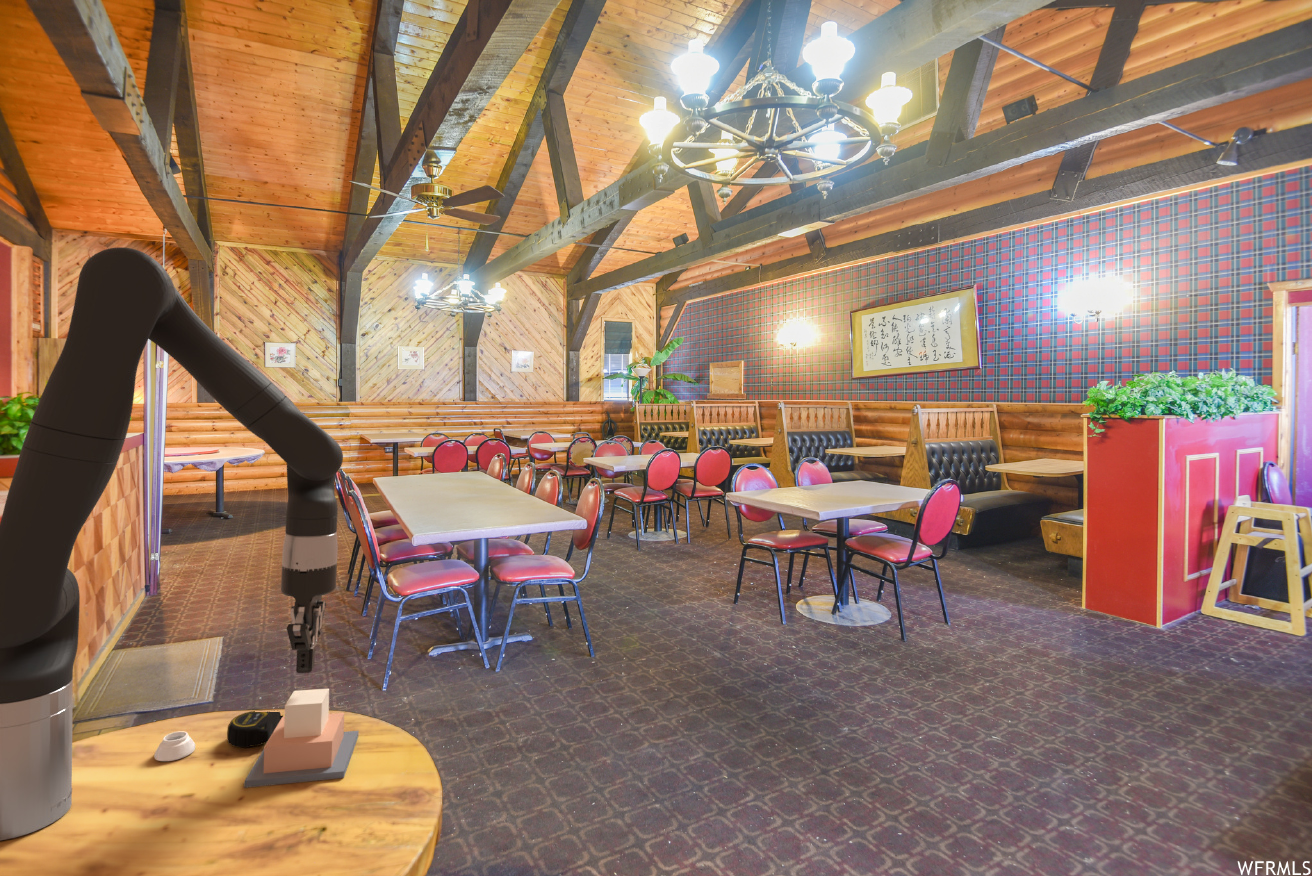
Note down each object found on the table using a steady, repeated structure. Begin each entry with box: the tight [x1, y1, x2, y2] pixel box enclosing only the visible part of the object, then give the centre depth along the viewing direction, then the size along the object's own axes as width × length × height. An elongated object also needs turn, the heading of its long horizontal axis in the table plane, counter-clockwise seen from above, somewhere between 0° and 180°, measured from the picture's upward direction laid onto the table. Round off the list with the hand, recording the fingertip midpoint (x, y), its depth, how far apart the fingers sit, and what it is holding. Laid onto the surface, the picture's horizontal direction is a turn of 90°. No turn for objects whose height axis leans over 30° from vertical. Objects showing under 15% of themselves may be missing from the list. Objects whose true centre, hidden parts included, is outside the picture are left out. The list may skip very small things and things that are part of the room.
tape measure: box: [226, 710, 284, 748], centre depth 103 cm, size 7×7×4 cm
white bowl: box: [154, 730, 196, 762], centre depth 98 cm, size 5×3×5 cm
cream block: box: [284, 688, 330, 738], centre depth 98 cm, size 5×5×5 cm
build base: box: [243, 712, 359, 788], centre depth 98 cm, size 13×12×5 cm
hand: (305, 671), depth 99 cm, fingers closed
